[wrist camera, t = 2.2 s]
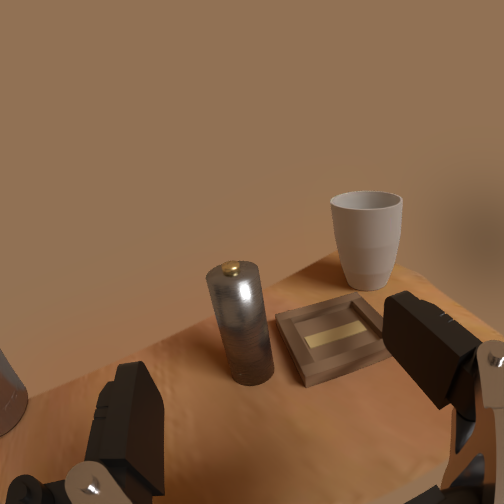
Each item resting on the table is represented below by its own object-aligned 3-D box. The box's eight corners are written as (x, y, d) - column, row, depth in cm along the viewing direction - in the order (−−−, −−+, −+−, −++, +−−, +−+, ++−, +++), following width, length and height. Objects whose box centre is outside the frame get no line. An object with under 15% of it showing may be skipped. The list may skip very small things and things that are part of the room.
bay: (306, 387, 21) (305, 376, 20) (276, 324, 29) (274, 314, 29) (402, 351, 22) (404, 340, 21) (356, 302, 30) (356, 291, 30)
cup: (398, 266, 35) (399, 190, 32) (400, 299, 29) (405, 209, 25) (339, 264, 39) (335, 191, 35) (329, 296, 32) (324, 209, 28)
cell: (235, 390, 22) (205, 282, 18) (229, 361, 25) (202, 260, 21) (279, 379, 22) (262, 269, 18) (268, 352, 26) (251, 249, 22)
